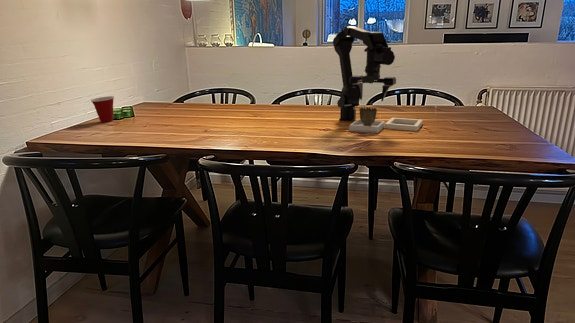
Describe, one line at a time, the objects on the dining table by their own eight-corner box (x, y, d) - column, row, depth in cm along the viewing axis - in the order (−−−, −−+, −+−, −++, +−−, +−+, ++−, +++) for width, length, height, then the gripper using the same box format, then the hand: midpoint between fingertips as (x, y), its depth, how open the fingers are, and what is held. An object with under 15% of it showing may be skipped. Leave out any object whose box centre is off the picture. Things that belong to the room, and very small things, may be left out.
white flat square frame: (384, 128, 172) (384, 123, 171) (391, 121, 183) (392, 117, 182) (417, 130, 166) (417, 126, 165) (422, 124, 177) (422, 119, 176)
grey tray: (349, 130, 169) (349, 124, 168) (357, 124, 179) (358, 119, 178) (377, 133, 164) (377, 127, 163) (384, 126, 174) (384, 121, 173)
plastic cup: (95, 120, 202) (91, 96, 198) (118, 118, 205) (114, 95, 201) (93, 124, 192) (88, 100, 188) (116, 122, 195) (113, 98, 192)
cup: (376, 129, 167) (377, 110, 164) (358, 128, 168) (359, 110, 166) (375, 125, 174) (376, 107, 171) (358, 124, 175) (359, 106, 173)
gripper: (345, 64, 162) (344, 102, 167) (390, 65, 154) (388, 105, 159) (354, 62, 172) (353, 98, 177) (397, 63, 163) (395, 100, 168)
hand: (371, 100), depth 170 cm, fingers open, 9 cm apart
